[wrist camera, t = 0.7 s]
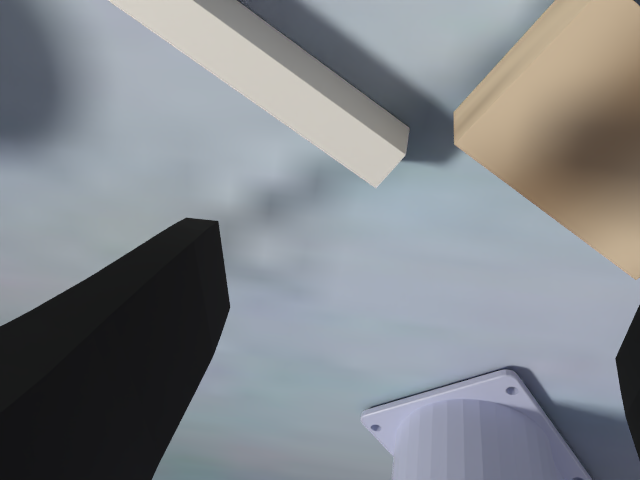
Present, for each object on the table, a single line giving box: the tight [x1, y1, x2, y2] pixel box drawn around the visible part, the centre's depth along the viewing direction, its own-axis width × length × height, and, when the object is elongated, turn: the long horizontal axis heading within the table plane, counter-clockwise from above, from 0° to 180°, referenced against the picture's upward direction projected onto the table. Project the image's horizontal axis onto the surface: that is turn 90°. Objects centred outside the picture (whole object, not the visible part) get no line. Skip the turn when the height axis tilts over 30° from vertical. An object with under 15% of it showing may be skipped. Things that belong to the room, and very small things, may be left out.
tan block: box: [454, 0, 640, 280], centre depth 15 cm, size 7×5×3 cm
